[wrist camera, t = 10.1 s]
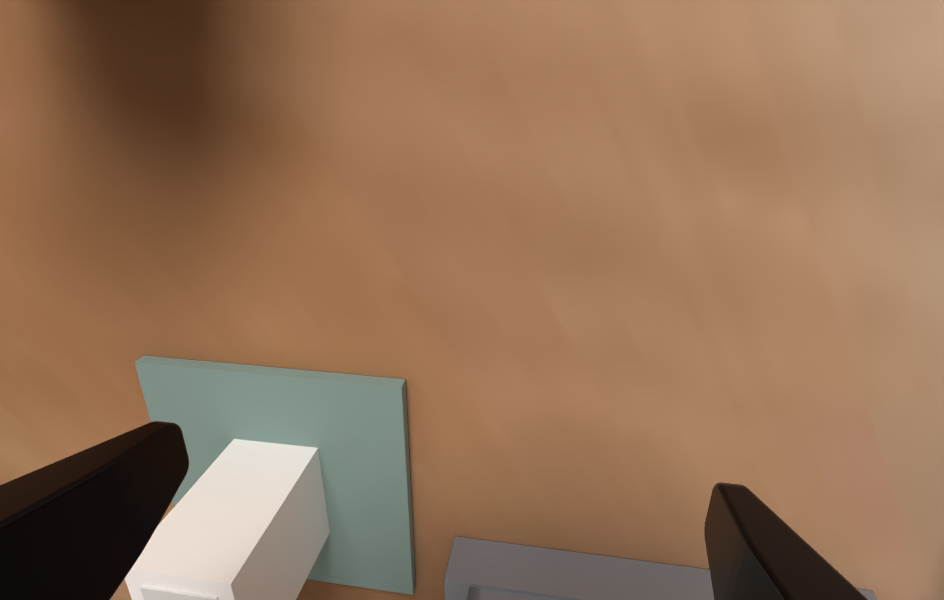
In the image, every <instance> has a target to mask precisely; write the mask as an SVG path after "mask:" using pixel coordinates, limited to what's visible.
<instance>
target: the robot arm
mask: <svg viewBox="0 0 944 600" xmlns="http://www.w3.org/2000/svg"><path fill="white" fill-rule="evenodd" d="M188 468H189V457H188V453H187V449H186V445H185V441H184V437H183V433H182V430H181V428H180V426H179V425H178V424H176V423H171V422H162V421H154V422H151V423H148V424H146V425H143V426H141V427H139V428H136V429H134V430H131V431H129V432H127V433H124V434H122V435H119V436H117V437H115V438H112V439H110V440H108V441H105V442H103V443H100V444H98V445H96V446H93V447H91V448H88V449H86V450H84V451H81V452H79V453H76V454H74V455H72V456H69V457H67V458H65V459H62V460H60V461H57V462H55V463H53V464H50V465H48V466H45V467H43V468H41V469H38V470H36V471H33V472H31V473H29V474H26V475H24V476H21V477H19V478H17V479H14V480H12V481H10V482H7V483H5V484H2V485H0V600H110V599H111V597H112V596H113V594H114V593H115V591H116V590H117V589H118V587H119V586H120V584H121V583H122V581H123V580H124V578H125V577H126V576H127V574H128V573H129V571H130V570H131V568H132V567H133V565H134V564H135V562H136V561H137V559H138V558H139V556H140V555H141V553H142V552H143V550H144V548H145V547H146V545H147V543H148V542H149V540H150V538H151V536H152V535H153V533H154V531H155V529H156V528H157V526H158V524H159V522H160V521H161V519H162V517H163V515H164V513H165V512H166V510H167V508H168V506H169V505H170V503H171V501H172V499H173V498H174V496H175V494H176V492H177V491H178V489H179V487H180V485H181V483H182V482H183V480H184V478H185V476H186V474H187V472H188ZM705 542H706V549H707V555H708V562H709V568H710V575H711V582H712V588H713V595H714V600H868V599H867V598H866V597H865V596H864V595H863V594H861V593H860V592H859V591H858V590H857V589H856V588H855V587H854V586H853V585H852V584H851V583H850V582H848V581H847V580H846V579H845V578H844V577H843V576H842V575H841V574H840V573H839V572H838V571H837V570H836V569H834V568H833V567H832V566H831V565H830V564H829V563H828V562H827V561H826V560H825V559H824V558H823V557H822V556H820V555H819V554H818V553H817V552H816V551H815V550H814V549H813V548H812V547H811V546H810V545H809V544H807V543H806V542H805V541H804V540H803V539H802V538H801V537H800V536H799V535H798V534H797V533H796V532H795V531H793V530H792V529H791V528H790V527H789V526H788V525H787V524H786V523H785V522H784V521H783V520H782V519H780V518H779V517H778V516H777V515H776V514H775V513H774V512H773V511H772V510H771V509H770V508H769V507H768V506H766V505H765V504H764V503H763V502H762V501H761V500H760V499H759V498H758V497H757V496H756V495H755V494H753V493H752V492H751V491H750V490H749V489H748V488H747V487H745V486H743V485H739V484H730V483H717V484H715V486H714V488H713V491H712V495H711V499H710V503H709V508H708V512H707V516H706V521H705Z"/></svg>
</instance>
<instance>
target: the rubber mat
mask: <svg viewBox="0 0 944 600" xmlns="http://www.w3.org/2000/svg"><path fill="white" fill-rule="evenodd" d="M135 366H136V370H137V373H138V377H139V380H140V384H141V388H142V391H143V395H144V398H145V402H146V406H147V409H148V413H149V417H150V420H151V422H154V421H162V422H171V423H176V424H178V425H179V426H180V428H181V430H182V433H183V437H184V441H185V445H186V449H187V453H188V457H189V468H188V472H187V474H186V476H185V478H184V480H183V482H182V483H181V485H180V487H179V489H178V491H177V492H176V494H175V496H174V498H173V499H172V500H173V503H174V507H175V506H176V505H177V503H178V502H179V501H180V500H181V499H182V498H183V497H184V495H185V494H186V493H187V492H188V491H189V490H190V489H191V487H192V486H193V485H194V484H195V483H196V482H197V481H198V479H199V478H200V477H201V476H202V475H203V474H204V473H205V471H206V470H207V469H208V468H209V467H210V466H211V465H212V463H213V462H214V461H215V460H216V459H217V458H218V457H219V455H220V454H221V453H222V452H223V451H224V450H225V449H226V447H227V446H228V445H229V444H230V443H231V442H232V441H233V439H240V440H250V441H259V442H268V443H278V444H287V445H296V446H305V447H315V448H318V451H319V459H320V466H321V473H322V480H323V488H324V495H325V502H326V509H327V516H328V524H329V531H330V533H329V535H328V537H327V539H326V541H325V543H324V545H323V547H322V549H321V551H320V553H319V555H318V557H317V559H316V561H315V563H314V565H313V567H312V569H311V571H310V573H309V575H308V577H307V579H308V580H314V581H321V582H328V583H335V584H342V585H348V586H355V587H362V588H369V589H375V590H382V591H389V592H396V593H403V594H409V595H413V594H414V590H415V587H416V573H415V553H414V534H413V514H412V495H411V475H410V456H409V436H408V417H407V397H406V379H397V378H386V377H375V376H364V375H353V374H342V373H331V372H320V371H309V370H298V369H287V368H276V367H265V366H254V365H243V364H232V363H221V362H210V361H198V360H187V359H176V358H165V357H154V356H143V357H141V358H140V359H138V360H137V361H136V362H135Z"/></svg>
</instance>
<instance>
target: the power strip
mask: <svg viewBox="0 0 944 600" xmlns="http://www.w3.org/2000/svg"><path fill="white" fill-rule="evenodd" d="M444 587H445V600H714V595H713V588H712V582H711V575H710V570H709V569H701V568H694V567H686V566H678V565H671V564H663V563H655V562H648V561H640V560H632V559H625V558H617V557H609V556H602V555H594V554H587V553H579V552H571V551H564V550H556V549H548V548H541V547H533V546H525V545H518V544H510V543H502V542H495V541H487V540H479V539H472V538H464V537H456V536H455V537H454V541H453V546H452V550H451V554H450V558H449V562H448V567H447V571H446V575H445V579H444ZM857 590H858V591H859V592H860V593H861V594H863V595H864V596H865V597H866V598H867V599H868V600H877V598H876V597H875V595H874V593H873V591H870V590H862V589H857Z"/></svg>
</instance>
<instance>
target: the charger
mask: <svg viewBox="0 0 944 600" xmlns="http://www.w3.org/2000/svg"><path fill="white" fill-rule="evenodd" d="M329 533H330V531H329V524H328V516H327V509H326V502H325V495H324V488H323V480H322V473H321V466H320V459H319V451H318V448H315V447H305V446H296V445H287V444H278V443H268V442H259V441H250V440H240V439H233V441H232V442H231V443H230V444H229V445H228V446H227V447H226V449H225V450H224V451H223V452H222V453H221V454H220V455H219V457H218V458H217V459H216V460H215V461H214V462H213V463H212V465H211V466H210V467H209V468H208V469H207V470H206V471H205V473H204V474H203V475H202V476H201V477H200V478H199V479H198V481H197V482H196V483H195V484H194V485H193V486H192V487H191V489H190V490H189V491H188V492H187V493H186V494H185V495H184V497H183V498H182V499H181V500H180V501H179V502H178V503H177V505H176V506H175V507H174V508H173V509H172V510H171V511H170V513H169V514H168V515H167V516H166V517H165V518H164V519H163V521H162V522H161V523H160V524H159V525H158V526H157V528H156V529H155V531H154V533H153V535H152V536H151V538H150V540H149V542H148V543H147V545H146V547H145V548H144V550H143V552H142V553H141V555H140V556H139V558H138V559H137V561H136V562H135V564H134V565H133V567H132V568H131V570H130V571H129V573H128V574H127V576H126V577H125V581H126V584H127V586H128V589H129V592H130V595H131V598H132V600H296V599H297V597H298V595H299V593H300V591H301V589H302V587H303V585H304V583H305V581H306V579H307V577H308V575H309V573H310V571H311V569H312V567H313V565H314V563H315V561H316V559H317V557H318V555H319V553H320V551H321V549H322V547H323V545H324V543H325V541H326V539H327V537H328V535H329Z"/></svg>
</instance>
